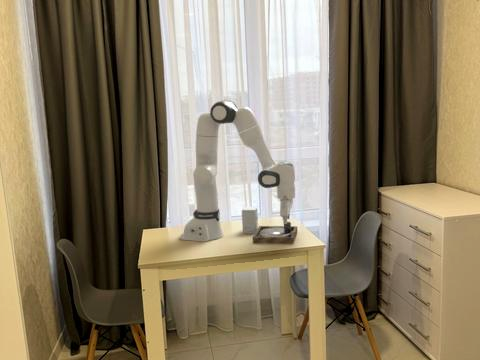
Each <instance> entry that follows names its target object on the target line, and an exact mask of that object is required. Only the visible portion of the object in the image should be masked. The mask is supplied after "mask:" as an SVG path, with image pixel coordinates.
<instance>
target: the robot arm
mask: <svg viewBox="0 0 480 360" xmlns="http://www.w3.org/2000/svg"><path fill="white" fill-rule="evenodd" d="M257 119H258V118H257V117H256V115H255V114H254V112H253V111H252V109H251V108H249V107H245V106H243V107H239V108H238V107H237V104H236V103H234V102H233V101H231V100H225V99H224V100H220V101H216V102H215V103H213V105H212V106H211V108H210V111H209V112H206V113H205V112H204V113H203V114H202V113H201V114H200V115H199V117H198V120H197V123H196V132H195V133H196V134H195V135H196V136H195V162H196V163H195V169H194V170H193V172H192V173H193V175H192V176H193V185H194V191H195V197H196V199H195V200H196V209H195V210H194V211H193V214H192V216H193V218H192V219H190V220H189V221H188V222H187V223H186V224H185V225H184V227H183V228H184V229H183V232H182V233H181V234H180V235H179V239H180V240H182V241H196V242H202V243H203V242H204V243H205V242H208V241H213V240H217V239H220V238H222V237H223V236H224V233H223V229H222V227H221V221H220V220H221V214H220V213H221V212H220V209H219V197H218V190H217V179H216V178H217V174H218V146H219V145H218V144H219V128H220V126H221V125H223V124H233V125H234V126H235V129H236V130H237V133H238V136H239V138H240V139H241V141H242V143H243V145H244V146H246V147H247V148H249V149H251V150H253V152H254V153H255V154H256V156H257V158H258V161H259V163H260V166H261V168H262V169H261V171H260V172H259V173H258V175H257V181H258V184H259V185H260V186H261V187H263V188H265V189H270V188H271V189H272V188H276V193H277V194H276V195H277V199H279V201H280V203H279V212H280V213H279V214H280V217H282V223H283V225H284V224H287V222H288V220H290V216H291V214H290V213H291V210H292V208H293V204H294V203H293V202H294V199H295V198H296V186H295V180H296V174H295V173H296V172H295V167H294V165H293V163H291V162H289V161H285V160H283V161H278V162H277V163H275V161H274V160H273V158H272V155H271V154H270V152H269V149H268V147H267V145H266V141H265V139H264V135H263V131H262V129H261V127H260V124H259V121H258V120H257Z"/></svg>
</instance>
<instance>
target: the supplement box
mask: <svg viewBox="0 0 480 360" xmlns="http://www.w3.org/2000/svg"><path fill="white" fill-rule="evenodd" d="M258 218H259V217H258V207H257V206H245V207H243V208H242V210H241V220H242V221H241V224H242V234H255V233H256V231H257V229H258V228H259V224H258V223H259V222H258Z"/></svg>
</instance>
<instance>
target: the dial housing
mask: <svg viewBox="0 0 480 360" xmlns="http://www.w3.org/2000/svg"><path fill="white" fill-rule="evenodd" d="M274 227H280V228H284V225H279V226H278V225H258V229H257V231H256V233H253V236H252V244H279V245H280V244H281V245H294V243H295V241H296V238H297V235H298V226H295V225H293V226H292V225H291V231H292V235H291V237H260V231H261V230H263V229H267V228H274Z"/></svg>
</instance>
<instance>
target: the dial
mask: <svg viewBox="0 0 480 360" xmlns="http://www.w3.org/2000/svg"><path fill="white" fill-rule="evenodd" d="M283 226H284V228H280V227H274V228H267V229H263V230H261V231H260V237H291V235H292V231H291V226H292V223H291V221H287V224H283Z"/></svg>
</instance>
